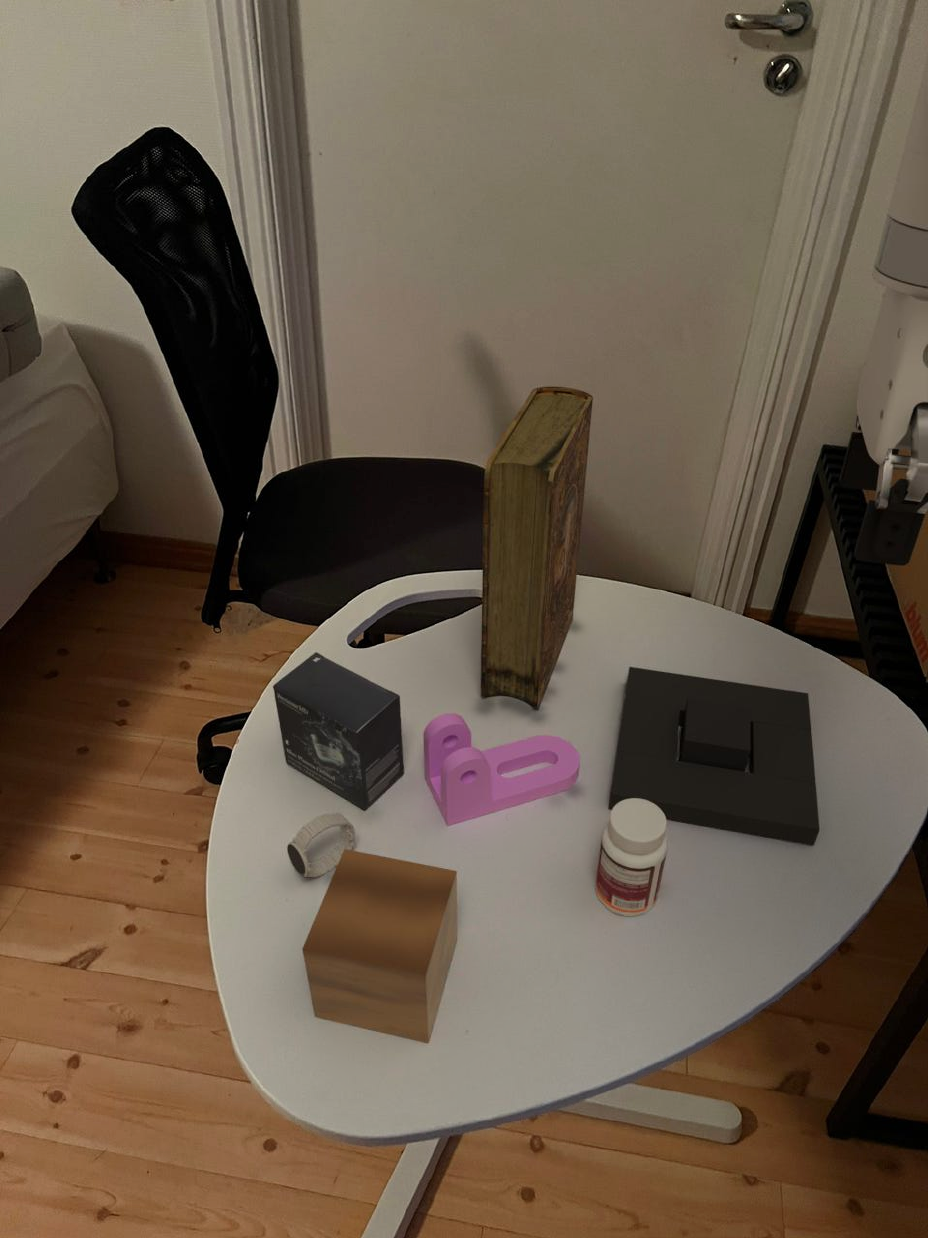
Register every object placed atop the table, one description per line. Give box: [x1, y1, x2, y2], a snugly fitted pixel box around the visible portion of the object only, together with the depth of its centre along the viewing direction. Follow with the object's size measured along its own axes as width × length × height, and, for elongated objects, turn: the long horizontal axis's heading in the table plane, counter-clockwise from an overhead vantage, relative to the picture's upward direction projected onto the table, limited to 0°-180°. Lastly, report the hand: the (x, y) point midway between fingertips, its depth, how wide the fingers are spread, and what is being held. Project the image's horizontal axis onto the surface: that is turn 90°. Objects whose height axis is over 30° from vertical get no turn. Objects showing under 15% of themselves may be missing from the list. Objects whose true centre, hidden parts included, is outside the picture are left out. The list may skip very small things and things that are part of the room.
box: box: [272, 651, 405, 811], centre depth 78 cm, size 9×6×10 cm, turn 54°
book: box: [480, 386, 594, 710], centre depth 86 cm, size 16×6×25 cm, turn 162°
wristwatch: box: [286, 812, 356, 878], centre depth 71 cm, size 3×5×5 cm, turn 130°
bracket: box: [422, 712, 581, 827], centre depth 78 cm, size 13×6×7 cm, turn 111°
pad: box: [678, 698, 751, 772], centre depth 81 cm, size 5×5×4 cm
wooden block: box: [302, 849, 458, 1044], centre depth 63 cm, size 8×8×8 cm
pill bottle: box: [595, 798, 669, 917], centre depth 68 cm, size 5×5×8 cm
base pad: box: [607, 666, 820, 847], centre depth 82 cm, size 16×16×2 cm
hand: (870, 521), depth 62 cm, fingers open, 9 cm apart
